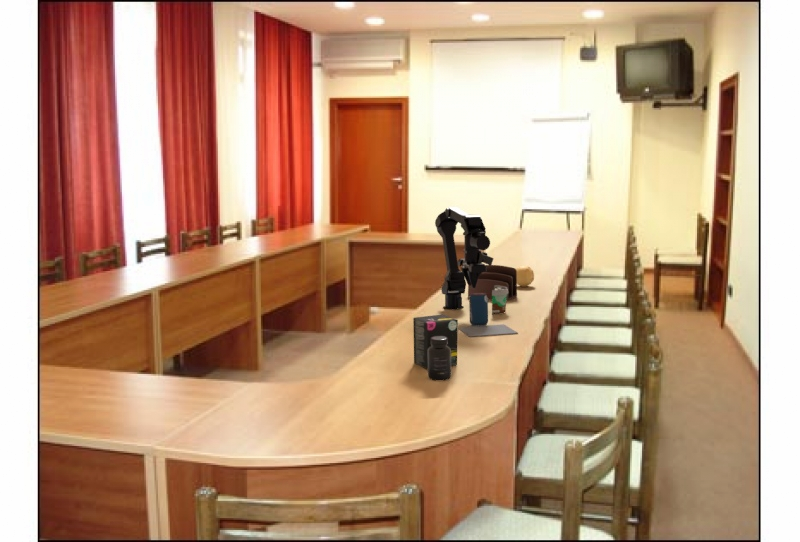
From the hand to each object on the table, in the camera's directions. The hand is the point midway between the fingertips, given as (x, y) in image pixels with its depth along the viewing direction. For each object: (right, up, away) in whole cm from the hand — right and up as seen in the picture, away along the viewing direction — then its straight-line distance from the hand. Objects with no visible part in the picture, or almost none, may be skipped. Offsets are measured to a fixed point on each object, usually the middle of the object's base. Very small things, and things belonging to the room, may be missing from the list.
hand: (471, 286), depth 303 cm
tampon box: (-17, -23, -66) cm, 72 cm away
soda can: (+1, -14, -14) cm, 20 cm away
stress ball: (+31, -2, +66) cm, 73 cm away
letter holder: (+13, -6, +42) cm, 44 cm away
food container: (+13, -11, +9) cm, 19 cm away
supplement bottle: (-17, -25, -80) cm, 85 cm away
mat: (+4, -16, -23) cm, 28 cm away
